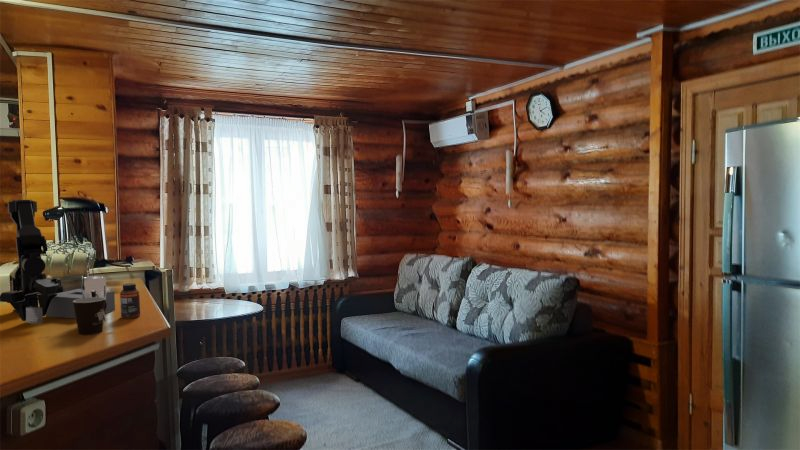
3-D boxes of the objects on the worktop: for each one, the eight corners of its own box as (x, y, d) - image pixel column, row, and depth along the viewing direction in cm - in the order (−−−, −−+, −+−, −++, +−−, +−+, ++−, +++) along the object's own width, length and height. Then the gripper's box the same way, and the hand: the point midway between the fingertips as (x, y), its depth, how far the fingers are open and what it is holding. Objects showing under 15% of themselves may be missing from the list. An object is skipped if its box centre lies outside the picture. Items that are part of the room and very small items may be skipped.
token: (25, 322, 188) (24, 307, 187) (31, 321, 189) (30, 306, 189) (37, 323, 186) (36, 308, 186) (42, 322, 188) (42, 307, 188)
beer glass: (97, 325, 183) (95, 279, 182) (78, 324, 184) (76, 278, 183) (112, 320, 190) (110, 275, 189) (94, 319, 191) (92, 275, 190)
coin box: (45, 316, 197) (45, 295, 196) (79, 307, 210) (78, 288, 209) (83, 319, 192) (82, 298, 192) (115, 310, 205) (114, 290, 205)
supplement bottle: (134, 314, 199) (133, 282, 198) (143, 316, 196) (142, 283, 195) (117, 317, 194) (116, 284, 194) (126, 319, 191) (125, 286, 190)
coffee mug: (84, 337, 169) (83, 303, 168) (68, 333, 174) (67, 300, 173) (121, 328, 179) (120, 297, 178) (105, 325, 183) (104, 294, 183)
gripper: (24, 276, 175) (27, 327, 176) (75, 268, 193) (77, 313, 194) (-3, 275, 179) (-1, 324, 180) (49, 266, 196) (51, 311, 197)
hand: (34, 318), depth 188 cm, fingers open, 7 cm apart
